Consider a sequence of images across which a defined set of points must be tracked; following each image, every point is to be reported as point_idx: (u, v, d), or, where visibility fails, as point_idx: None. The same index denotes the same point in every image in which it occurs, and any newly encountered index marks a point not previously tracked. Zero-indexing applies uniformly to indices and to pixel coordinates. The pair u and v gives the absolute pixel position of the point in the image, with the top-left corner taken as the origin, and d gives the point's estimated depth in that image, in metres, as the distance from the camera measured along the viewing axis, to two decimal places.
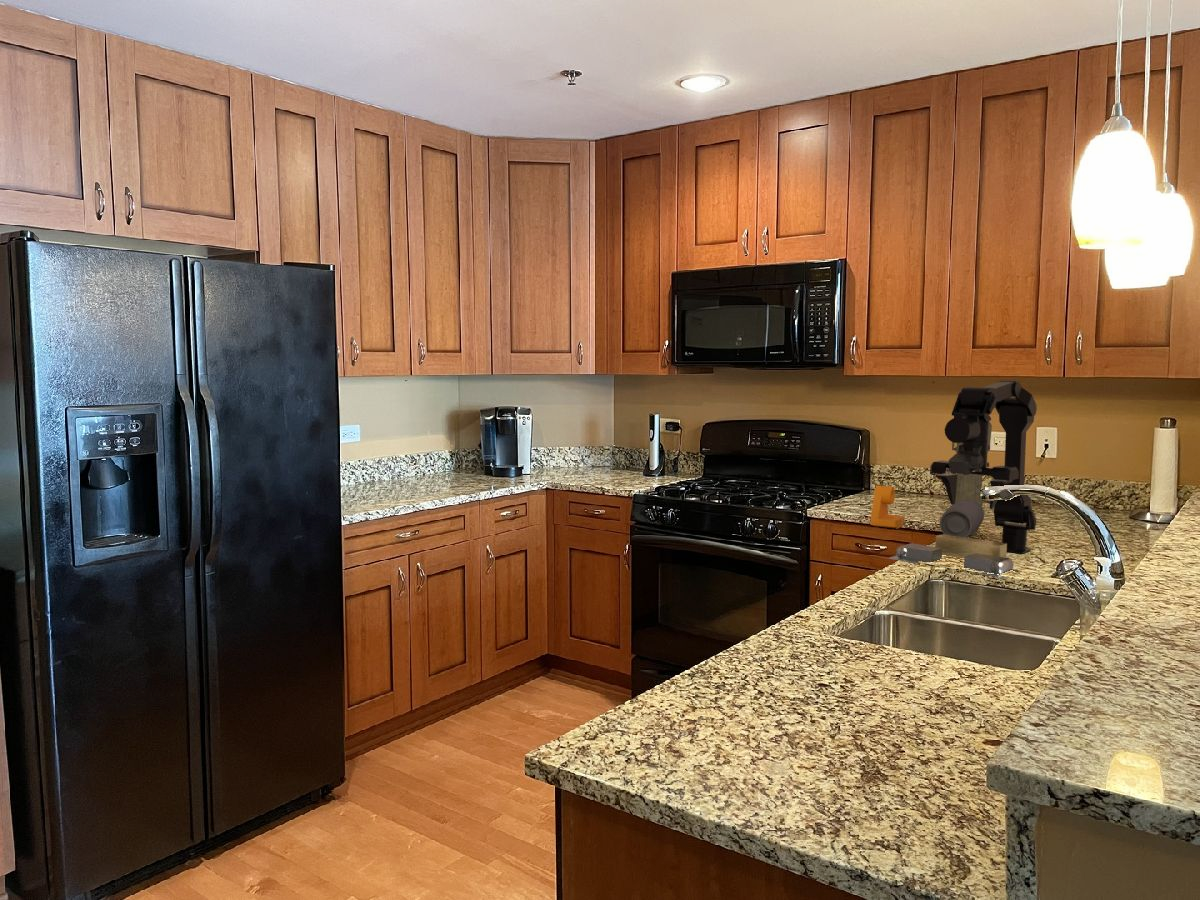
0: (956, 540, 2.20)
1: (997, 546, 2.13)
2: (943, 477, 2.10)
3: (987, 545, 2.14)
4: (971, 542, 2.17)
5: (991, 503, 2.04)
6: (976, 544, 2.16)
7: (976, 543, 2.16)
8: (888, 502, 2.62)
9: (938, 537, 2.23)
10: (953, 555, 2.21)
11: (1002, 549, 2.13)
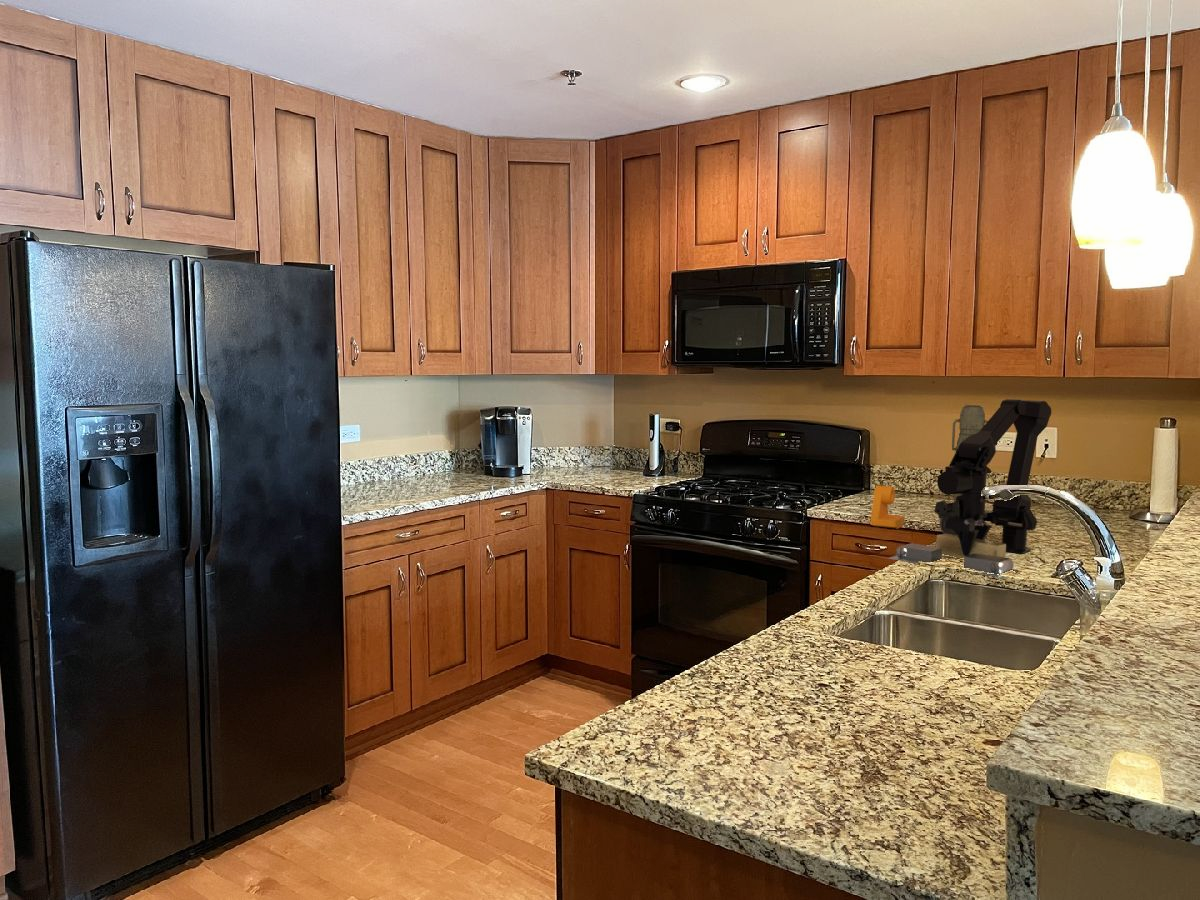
0: (956, 539, 2.20)
1: (994, 546, 2.12)
2: None
3: (985, 545, 2.14)
4: None
5: None
6: (974, 543, 2.16)
7: (975, 543, 2.16)
8: (888, 502, 2.62)
9: (939, 536, 2.24)
10: (953, 554, 2.21)
11: (1000, 549, 2.13)
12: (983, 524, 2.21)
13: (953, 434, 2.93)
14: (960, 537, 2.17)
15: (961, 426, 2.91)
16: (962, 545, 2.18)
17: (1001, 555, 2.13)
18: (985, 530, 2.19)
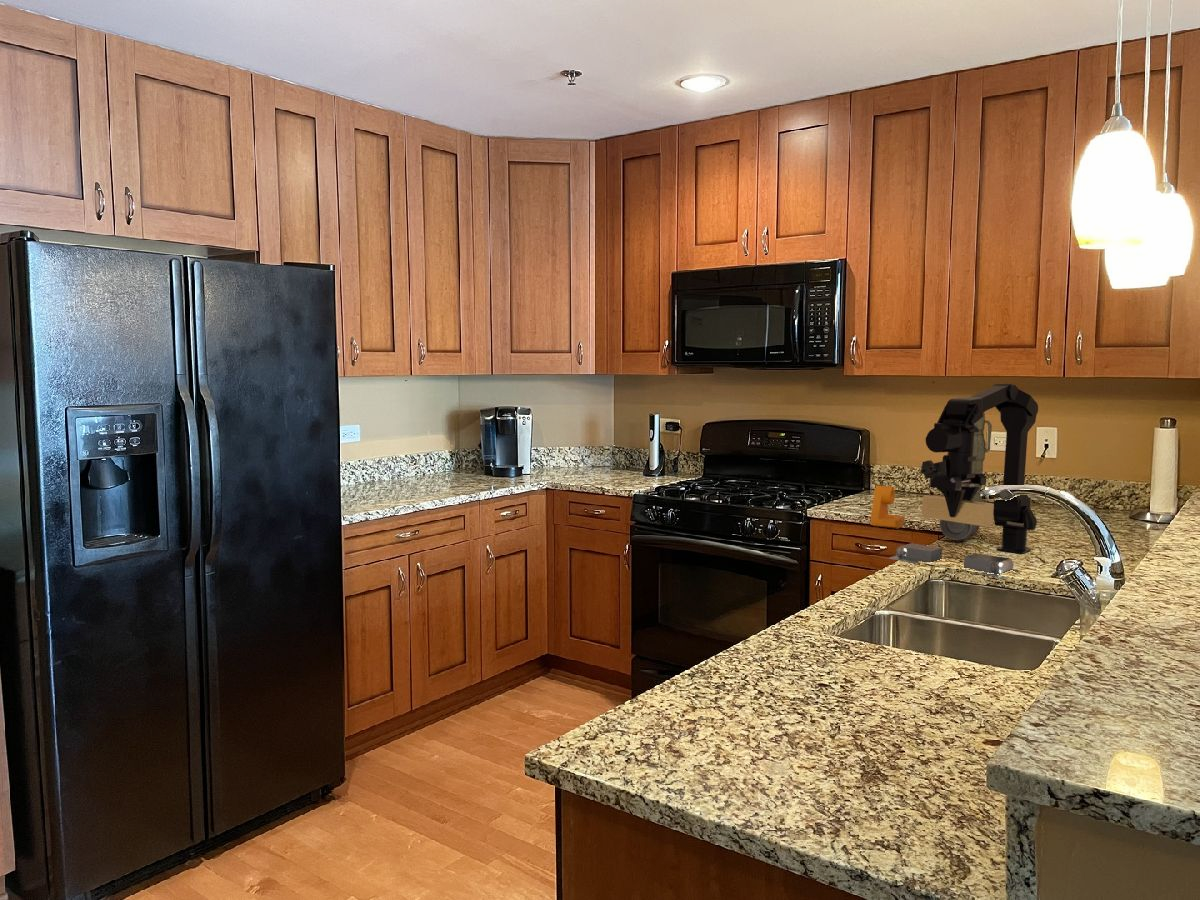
0: (942, 500, 2.13)
1: (982, 505, 2.05)
2: None
3: (972, 504, 2.07)
4: None
5: None
6: (961, 503, 2.09)
7: (962, 503, 2.09)
8: (888, 502, 2.62)
9: (925, 497, 2.17)
10: (939, 516, 2.14)
11: (988, 509, 2.06)
12: (970, 485, 2.14)
13: None
14: (946, 497, 2.10)
15: None
16: (948, 506, 2.11)
17: (989, 515, 2.06)
18: (972, 491, 2.12)
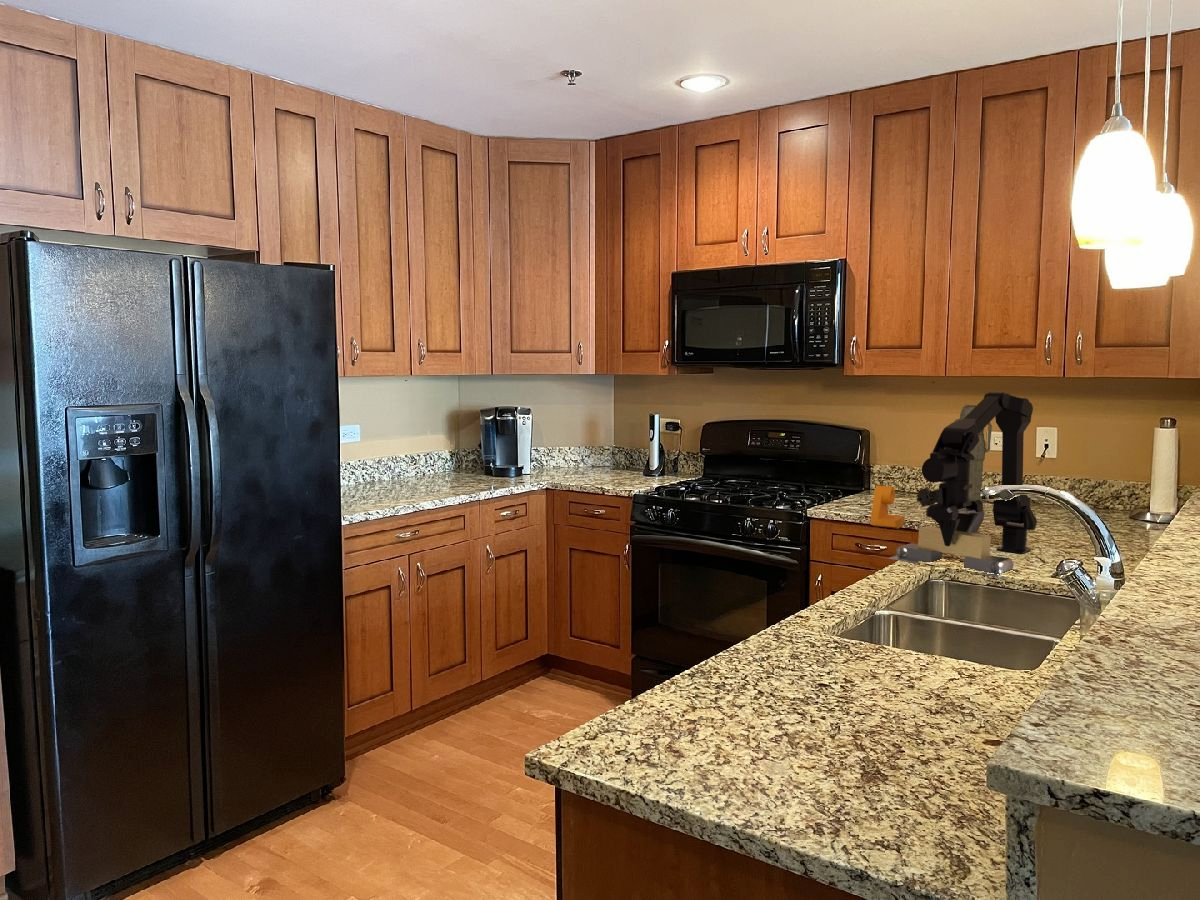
0: (939, 532, 2.13)
1: (979, 538, 2.05)
2: None
3: (969, 537, 2.07)
4: None
5: None
6: (958, 535, 2.09)
7: (958, 535, 2.09)
8: (888, 502, 2.62)
9: (921, 529, 2.16)
10: (936, 547, 2.14)
11: (985, 541, 2.06)
12: (969, 512, 2.14)
13: None
14: (941, 526, 2.09)
15: None
16: (943, 535, 2.10)
17: (986, 547, 2.06)
18: (971, 518, 2.13)
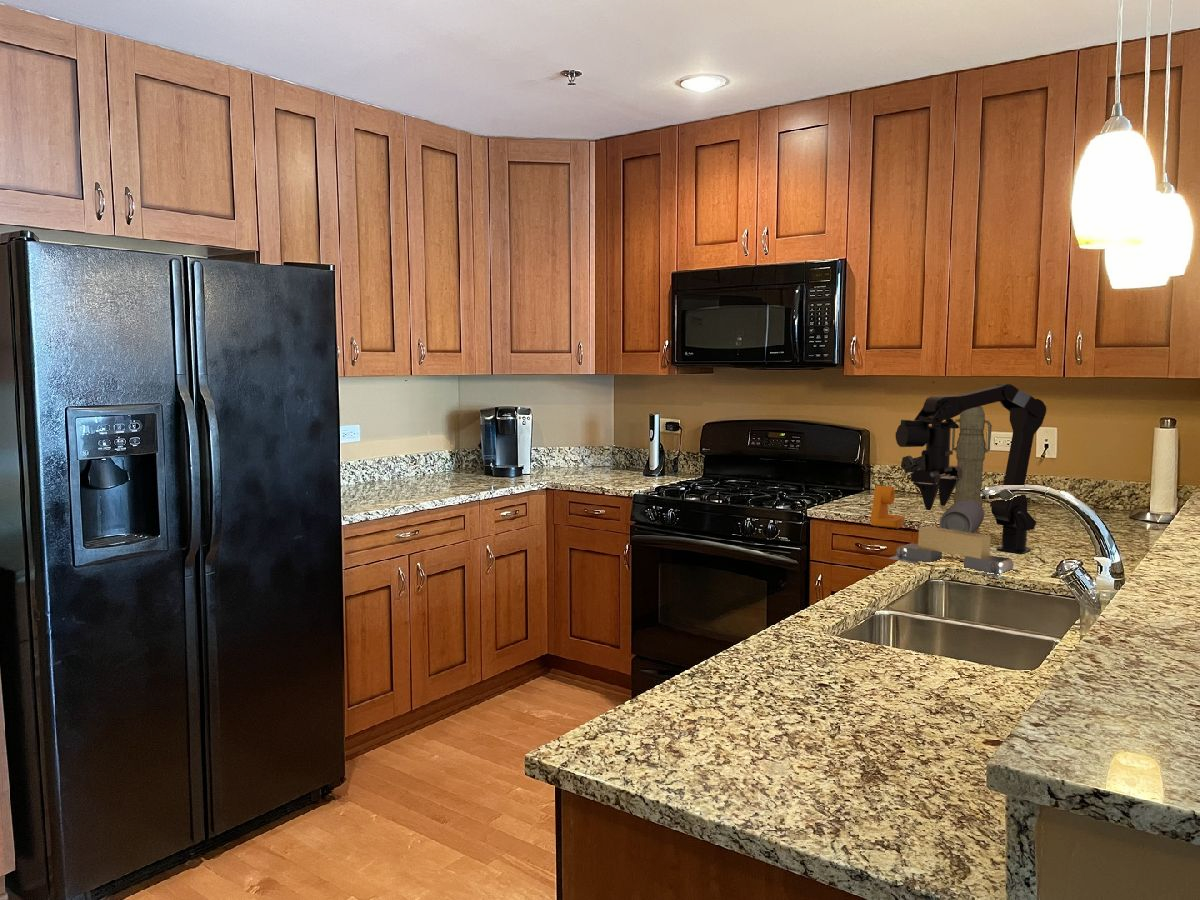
0: (939, 532, 2.13)
1: (979, 538, 2.05)
2: None
3: (969, 537, 2.07)
4: (953, 534, 2.10)
5: None
6: (958, 535, 2.09)
7: (958, 535, 2.09)
8: (888, 502, 2.62)
9: (921, 529, 2.16)
10: (936, 547, 2.14)
11: (985, 541, 2.06)
12: (951, 477, 2.27)
13: (953, 434, 2.93)
14: (922, 491, 2.20)
15: (961, 426, 2.91)
16: (924, 499, 2.20)
17: (986, 547, 2.06)
18: (953, 483, 2.25)
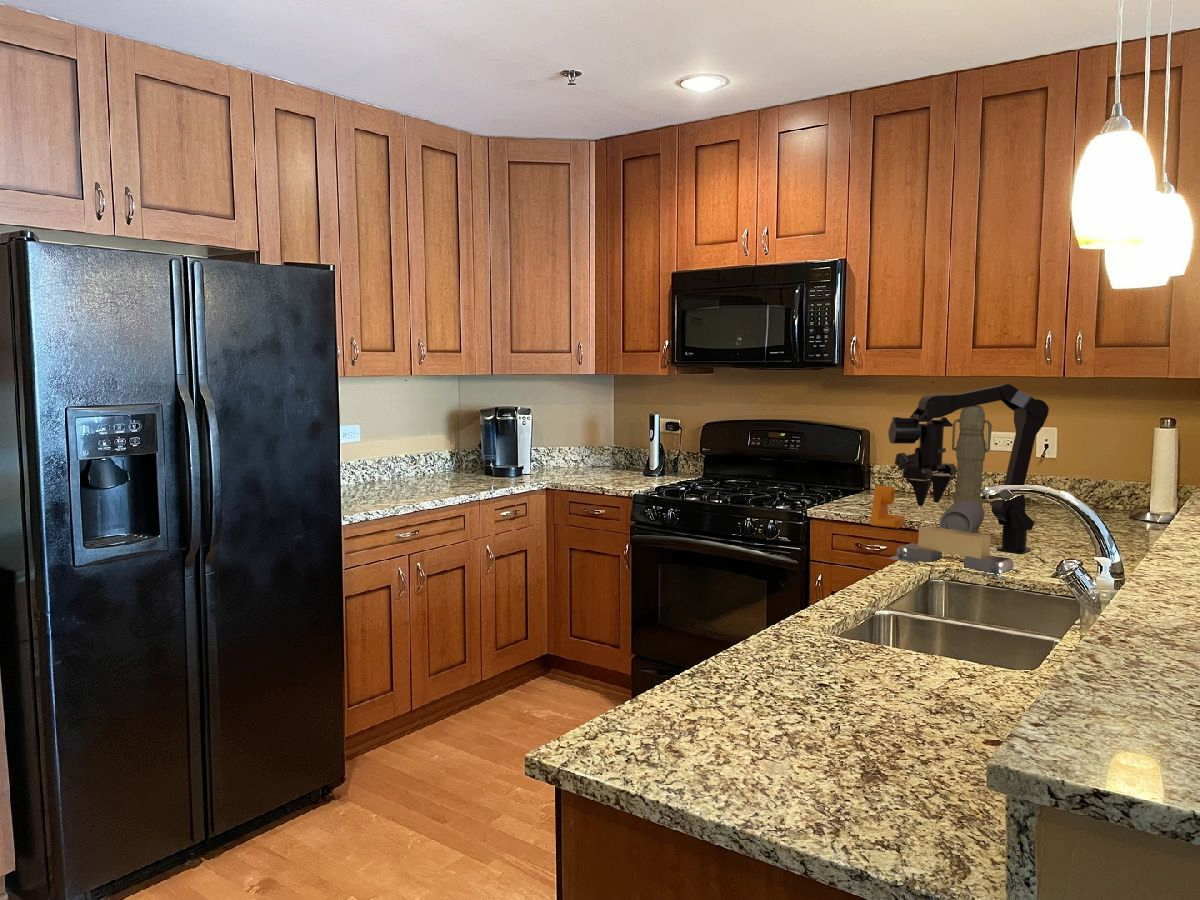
0: (939, 532, 2.13)
1: (979, 538, 2.05)
2: None
3: (969, 537, 2.07)
4: (953, 534, 2.10)
5: None
6: (958, 535, 2.09)
7: (958, 535, 2.09)
8: (888, 502, 2.62)
9: (921, 529, 2.16)
10: (936, 547, 2.14)
11: (985, 541, 2.06)
12: (945, 474, 2.31)
13: (953, 434, 2.93)
14: (914, 487, 2.24)
15: (961, 426, 2.91)
16: (916, 495, 2.25)
17: (986, 547, 2.06)
18: (947, 480, 2.30)
